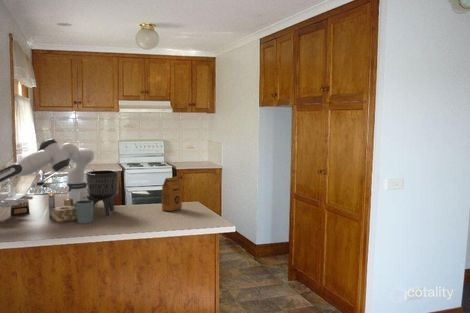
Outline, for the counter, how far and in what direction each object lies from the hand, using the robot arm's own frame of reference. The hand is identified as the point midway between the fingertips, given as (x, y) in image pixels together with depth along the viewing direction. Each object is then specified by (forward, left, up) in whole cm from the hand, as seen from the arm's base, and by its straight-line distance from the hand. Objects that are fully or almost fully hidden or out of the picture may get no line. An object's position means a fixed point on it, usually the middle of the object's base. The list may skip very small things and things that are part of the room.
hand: (30, 199), depth 258 cm
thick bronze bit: (-20, +7, -12) cm, 24 cm away
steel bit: (-10, +6, -12) cm, 17 cm away
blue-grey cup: (-20, +30, -12) cm, 38 cm away
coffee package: (-76, +38, -12) cm, 86 cm away
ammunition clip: (+2, -15, -12) cm, 19 cm away
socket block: (-13, +18, -12) cm, 25 cm away
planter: (-38, +17, -12) cm, 44 cm away
